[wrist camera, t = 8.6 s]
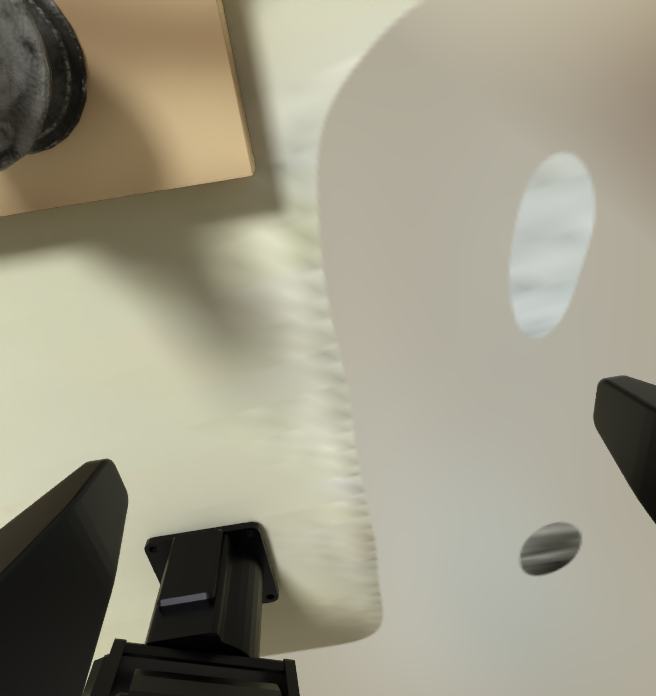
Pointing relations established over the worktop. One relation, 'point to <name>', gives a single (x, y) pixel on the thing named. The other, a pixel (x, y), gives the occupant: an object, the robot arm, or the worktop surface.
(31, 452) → the worktop surface
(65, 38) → the salt shaker
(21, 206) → the dock
